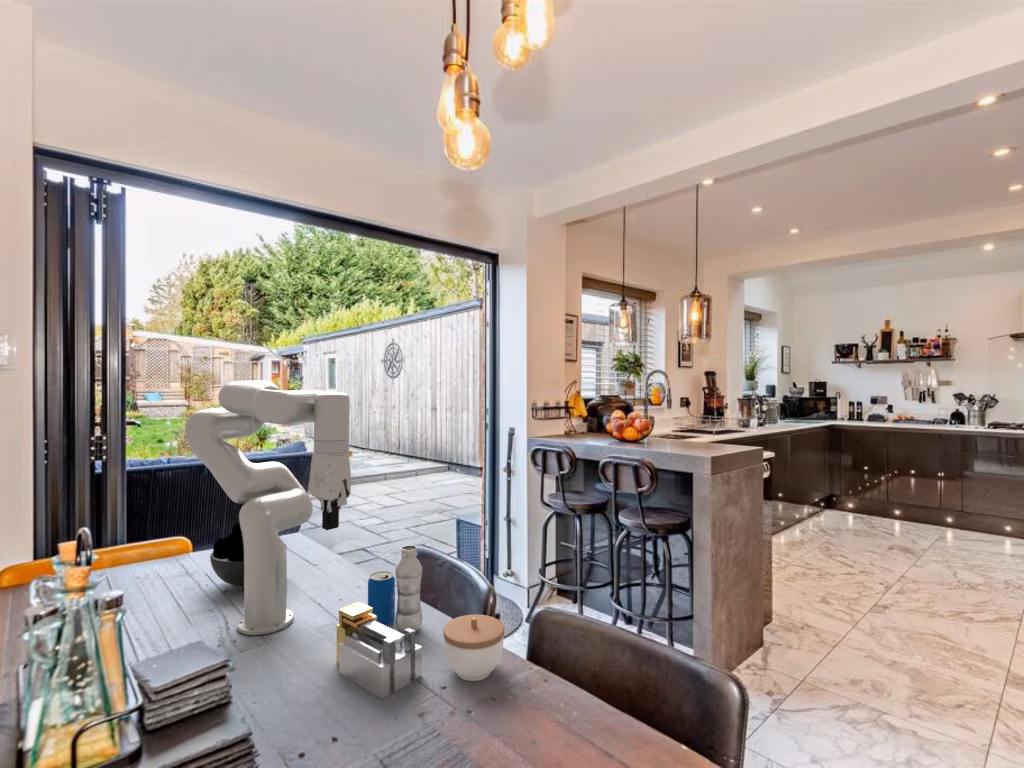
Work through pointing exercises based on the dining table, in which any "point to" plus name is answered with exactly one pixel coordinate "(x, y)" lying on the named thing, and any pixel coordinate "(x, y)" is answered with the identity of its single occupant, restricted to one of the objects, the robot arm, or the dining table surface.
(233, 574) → the bowl of black rocks
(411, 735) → the dining table surface
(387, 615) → the beverage can
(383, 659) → the heatsink
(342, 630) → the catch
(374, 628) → the strap
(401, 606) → the plastic bottle
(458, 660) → the lidded bowl
